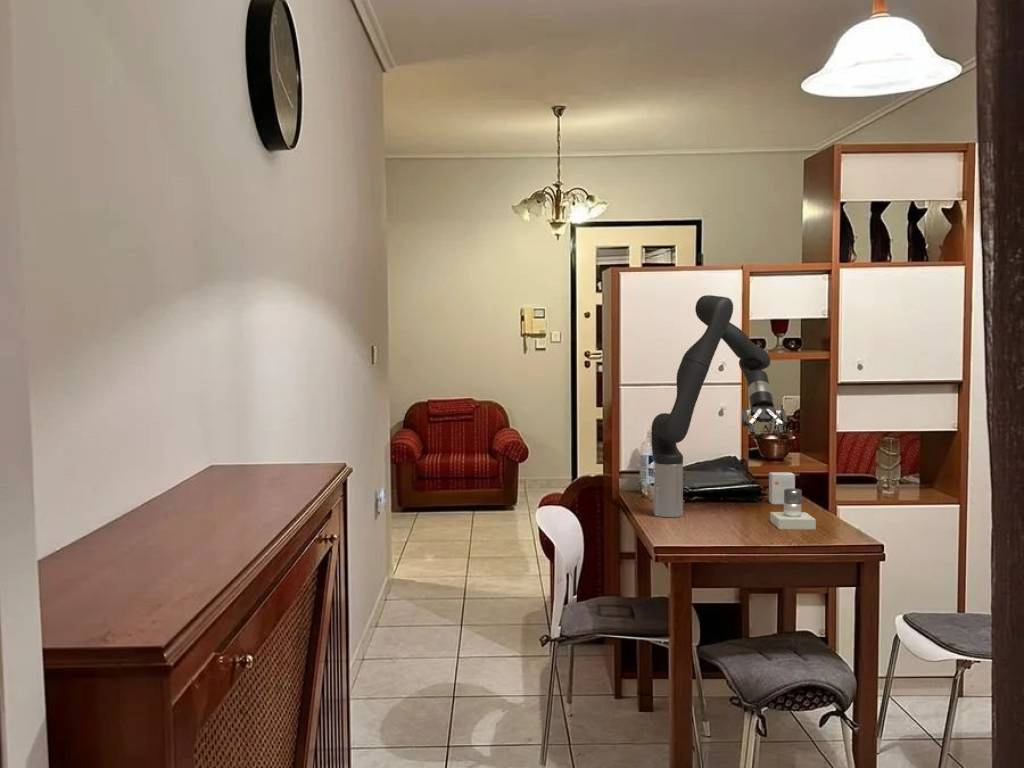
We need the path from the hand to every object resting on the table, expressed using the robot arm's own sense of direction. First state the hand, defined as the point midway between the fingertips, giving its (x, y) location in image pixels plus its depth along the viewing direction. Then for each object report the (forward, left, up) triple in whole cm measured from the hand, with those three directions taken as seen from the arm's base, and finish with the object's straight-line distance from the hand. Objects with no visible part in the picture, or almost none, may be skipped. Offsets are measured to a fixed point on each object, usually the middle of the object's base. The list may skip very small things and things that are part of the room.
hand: (767, 434), depth 297 cm
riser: (+4, -17, -26) cm, 32 cm away
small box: (+10, +19, -26) cm, 34 cm away
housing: (+4, -17, -23) cm, 29 cm away
